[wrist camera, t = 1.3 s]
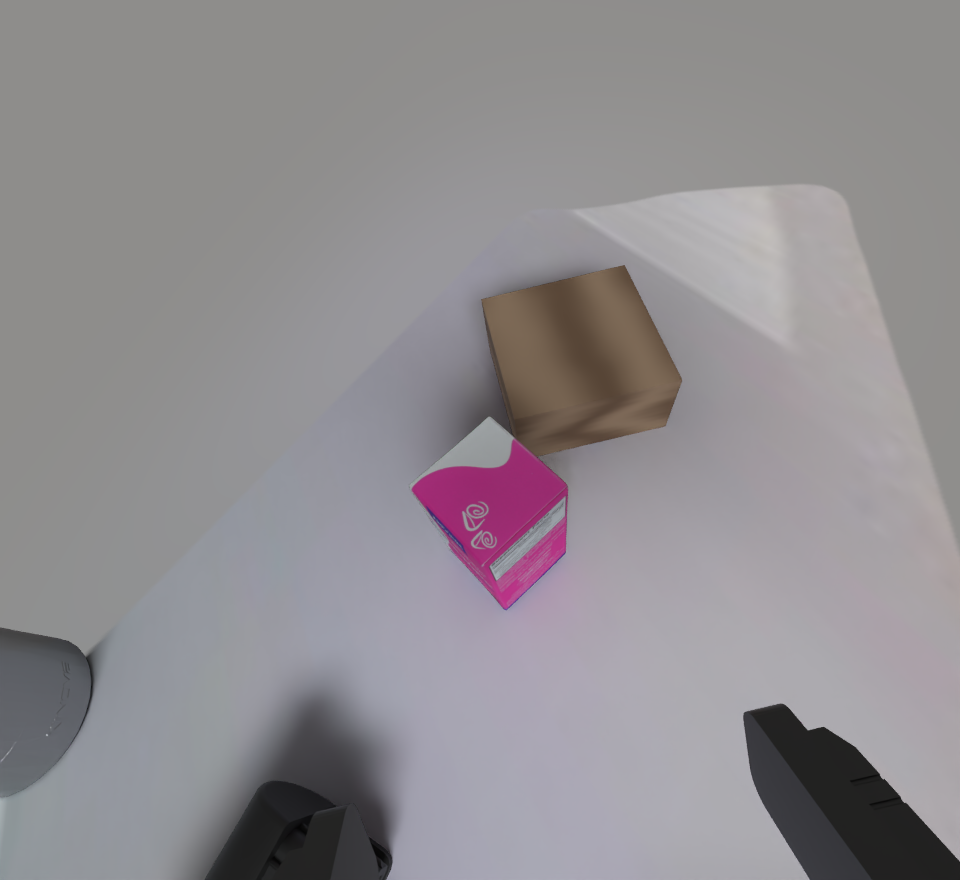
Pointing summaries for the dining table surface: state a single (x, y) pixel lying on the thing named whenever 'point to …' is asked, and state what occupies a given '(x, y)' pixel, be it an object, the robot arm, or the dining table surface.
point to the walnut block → (579, 361)
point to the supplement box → (497, 510)
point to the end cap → (275, 833)
